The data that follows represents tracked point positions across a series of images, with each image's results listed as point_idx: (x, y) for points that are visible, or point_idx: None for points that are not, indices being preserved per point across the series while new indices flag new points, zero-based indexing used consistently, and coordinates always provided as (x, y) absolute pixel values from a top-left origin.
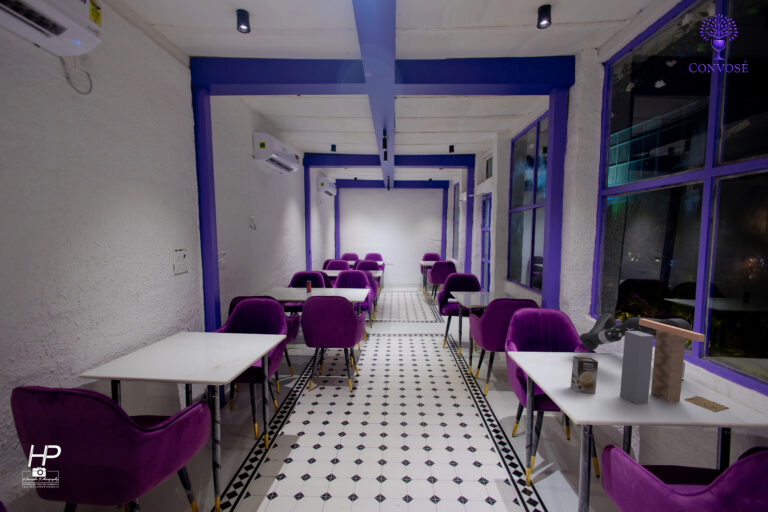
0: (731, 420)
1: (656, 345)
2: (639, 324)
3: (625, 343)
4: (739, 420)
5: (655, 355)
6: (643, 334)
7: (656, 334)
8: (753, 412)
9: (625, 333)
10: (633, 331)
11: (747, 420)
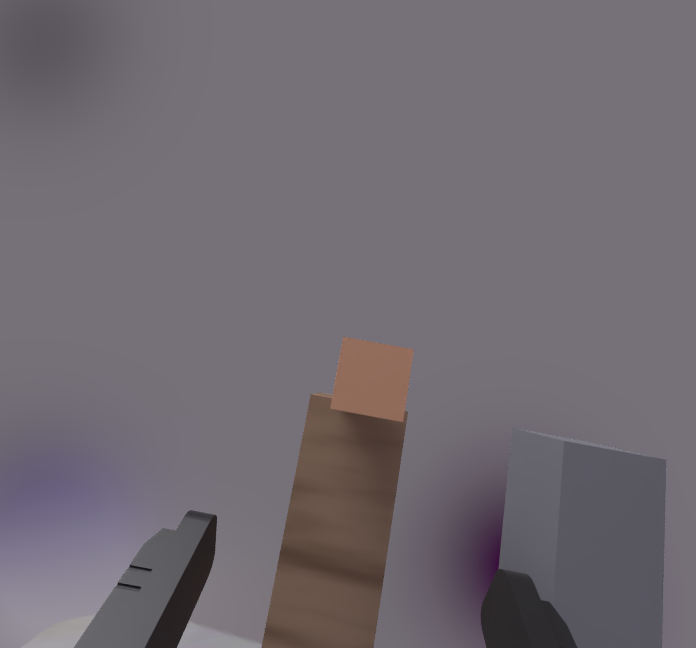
0: (241, 639)
1: (390, 517)
2: (402, 419)
3: (655, 546)
4: (214, 630)
5: (379, 597)
6: (559, 437)
7: (403, 439)
8: (70, 631)
9: (662, 475)
10: (601, 447)
11: (188, 622)
